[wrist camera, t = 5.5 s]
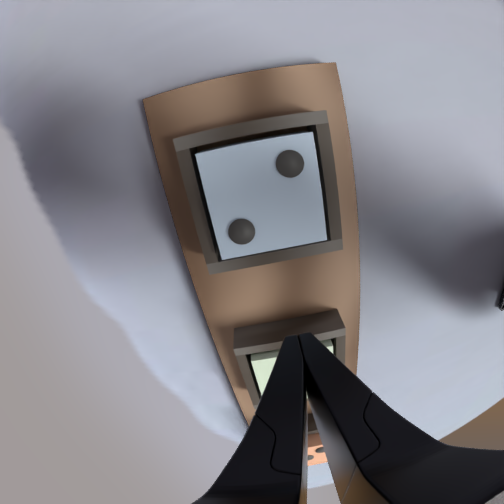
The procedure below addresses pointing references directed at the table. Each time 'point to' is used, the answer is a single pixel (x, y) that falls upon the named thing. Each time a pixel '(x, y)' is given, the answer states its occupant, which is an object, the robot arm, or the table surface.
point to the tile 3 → (315, 450)
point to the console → (276, 261)
